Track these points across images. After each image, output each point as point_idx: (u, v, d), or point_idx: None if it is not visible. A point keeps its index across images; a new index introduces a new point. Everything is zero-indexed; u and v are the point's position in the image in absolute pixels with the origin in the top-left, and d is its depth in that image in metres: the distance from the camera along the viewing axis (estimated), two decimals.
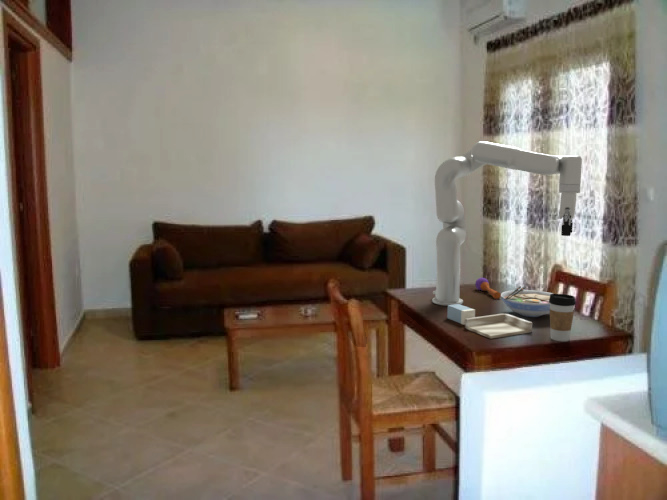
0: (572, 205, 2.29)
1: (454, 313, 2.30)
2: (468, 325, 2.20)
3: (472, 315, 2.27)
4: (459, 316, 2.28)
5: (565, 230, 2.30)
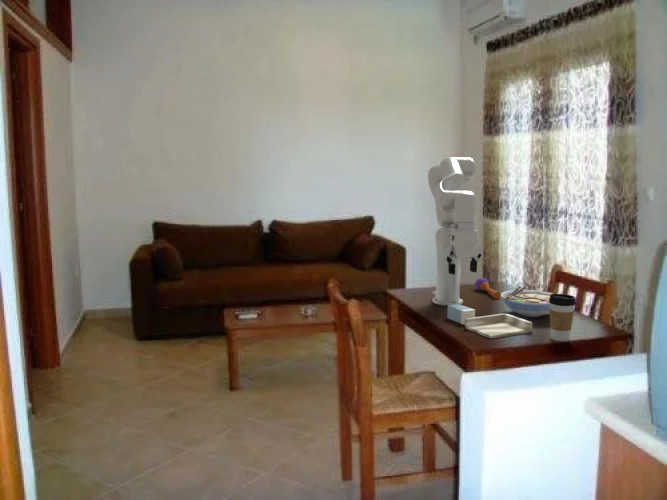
0: None
1: (454, 313, 2.30)
2: (468, 325, 2.20)
3: (472, 315, 2.27)
4: (459, 316, 2.28)
5: None
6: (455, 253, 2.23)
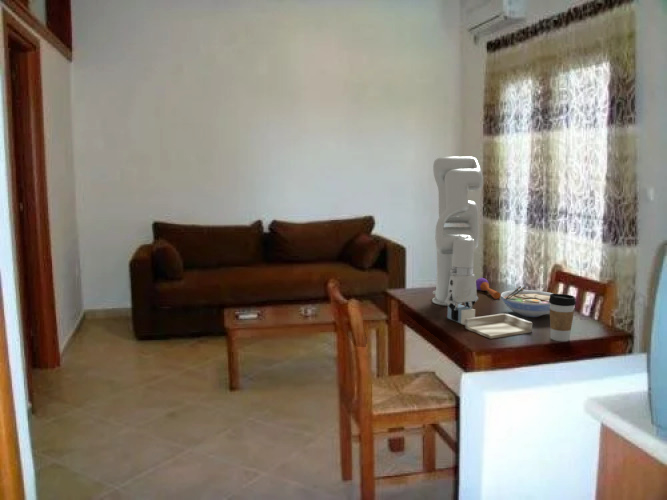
0: None
1: None
2: (468, 325, 2.20)
3: (472, 315, 2.27)
4: (459, 316, 2.28)
5: None
6: (453, 298, 2.26)
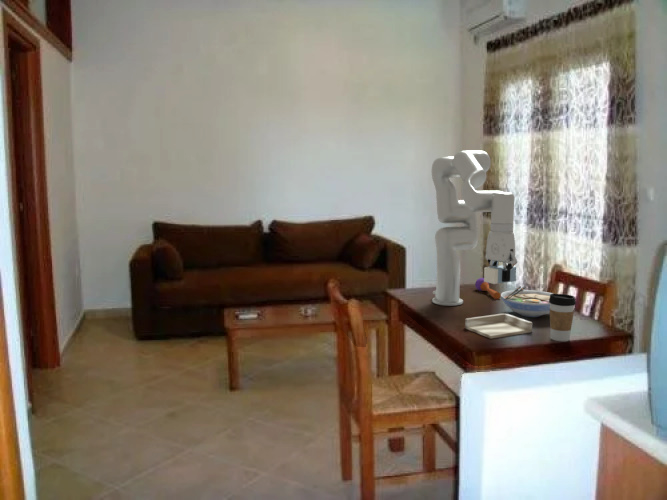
0: (514, 246, 2.12)
1: None
2: (468, 325, 2.20)
3: (491, 274, 2.13)
4: None
5: (507, 276, 2.13)
6: None
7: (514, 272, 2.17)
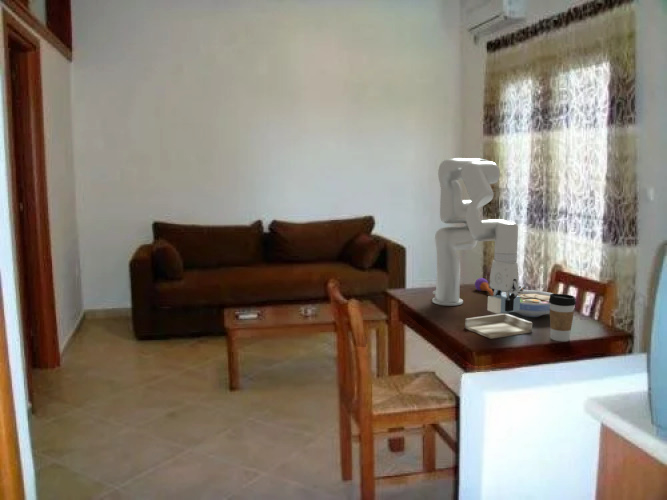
0: (518, 276, 2.12)
1: None
2: (468, 325, 2.20)
3: (494, 304, 2.14)
4: None
5: (510, 305, 2.14)
6: None
7: (518, 301, 2.17)
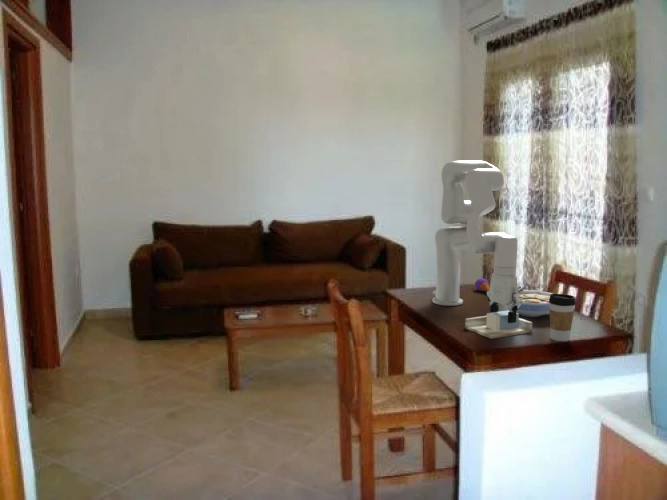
0: (517, 289, 2.13)
1: None
2: (468, 325, 2.20)
3: (493, 321, 2.15)
4: None
5: (513, 317, 2.13)
6: None
7: (517, 318, 2.18)
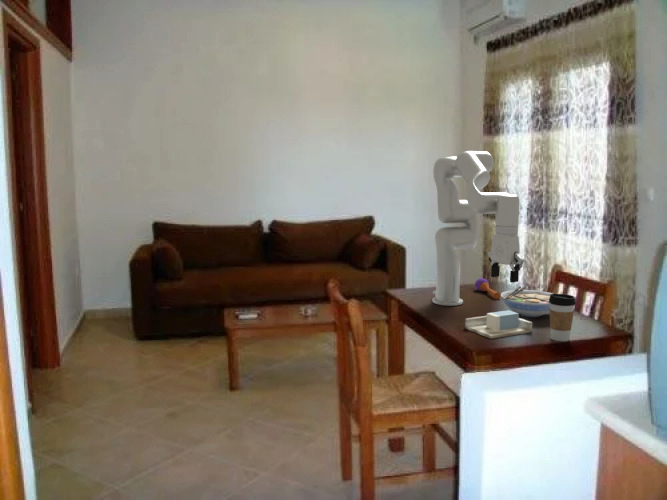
0: (519, 248, 2.11)
1: None
2: (468, 325, 2.20)
3: (493, 321, 2.15)
4: None
5: (515, 276, 2.10)
6: None
7: (517, 318, 2.18)
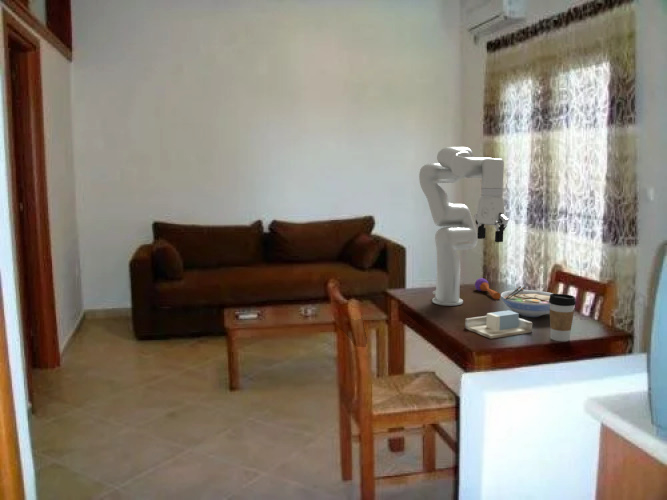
0: (503, 210, 2.20)
1: None
2: (468, 325, 2.20)
3: (493, 321, 2.15)
4: None
5: (500, 236, 2.20)
6: None
7: (517, 318, 2.18)
